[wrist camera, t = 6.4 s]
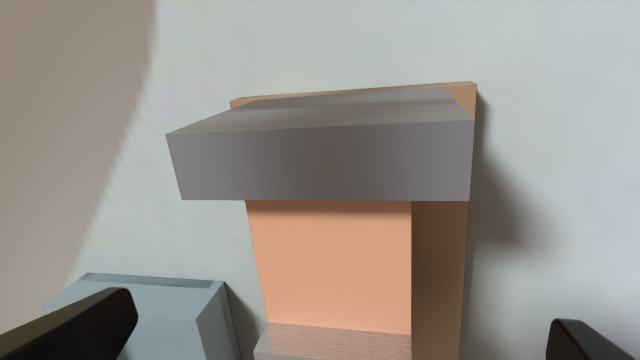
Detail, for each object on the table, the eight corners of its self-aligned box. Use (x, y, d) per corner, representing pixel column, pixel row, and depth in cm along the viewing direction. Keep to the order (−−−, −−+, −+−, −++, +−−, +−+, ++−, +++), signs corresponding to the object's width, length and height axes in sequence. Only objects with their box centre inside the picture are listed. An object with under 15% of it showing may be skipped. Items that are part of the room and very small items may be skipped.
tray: (129, 382, 21) (97, 423, 19) (86, 272, 18) (42, 305, 16) (250, 400, 19) (230, 448, 17) (223, 281, 16) (195, 319, 14)
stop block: (302, 247, 13) (267, 321, 10) (290, 149, 12) (243, 194, 8) (407, 251, 13) (410, 334, 9) (406, 145, 11) (411, 194, 8)
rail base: (294, 412, 19) (251, 564, 13) (241, 97, 13) (125, 135, 7) (449, 436, 17) (473, 623, 11) (470, 81, 11) (541, 117, 6)
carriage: (312, 327, 15) (274, 452, 10) (302, 247, 13) (253, 351, 9) (407, 336, 14) (412, 477, 9) (407, 251, 12) (412, 369, 8)
